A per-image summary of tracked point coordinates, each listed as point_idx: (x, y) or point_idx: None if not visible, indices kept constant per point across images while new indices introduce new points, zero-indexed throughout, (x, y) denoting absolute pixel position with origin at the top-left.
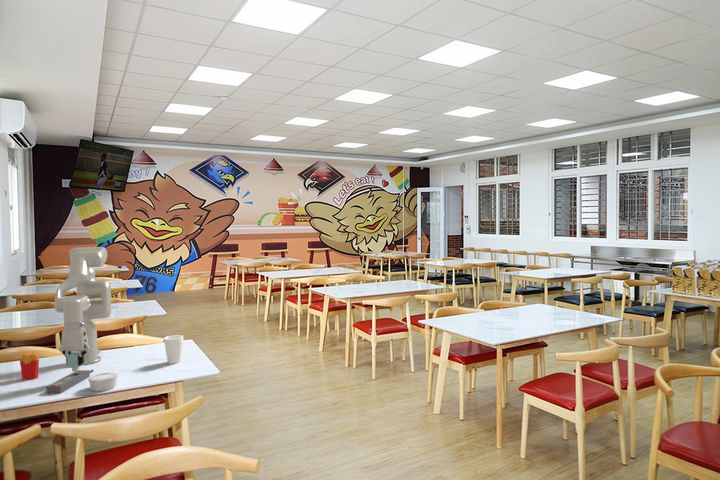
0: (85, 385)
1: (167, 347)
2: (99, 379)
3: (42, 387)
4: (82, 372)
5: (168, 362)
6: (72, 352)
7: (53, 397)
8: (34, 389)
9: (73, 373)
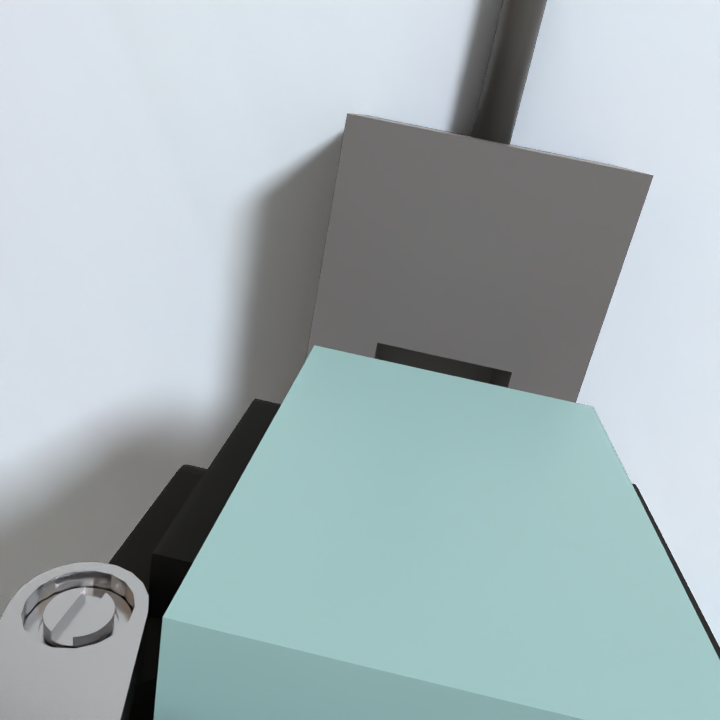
0: None
1: None
2: None
3: (72, 527)
4: (532, 316)
5: None
6: (190, 699)
7: None
8: (16, 572)
9: (362, 337)
